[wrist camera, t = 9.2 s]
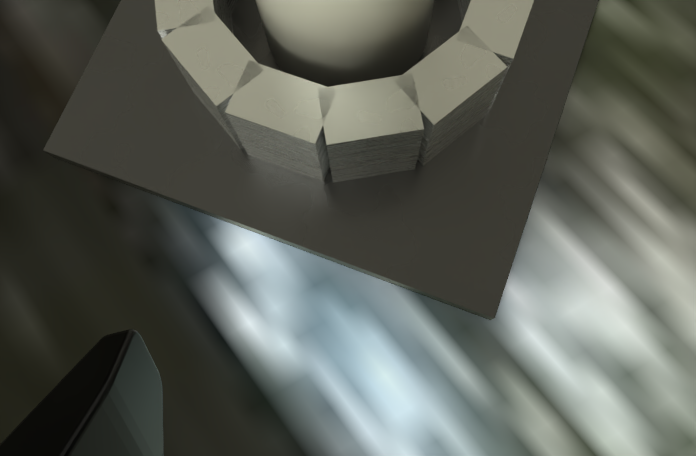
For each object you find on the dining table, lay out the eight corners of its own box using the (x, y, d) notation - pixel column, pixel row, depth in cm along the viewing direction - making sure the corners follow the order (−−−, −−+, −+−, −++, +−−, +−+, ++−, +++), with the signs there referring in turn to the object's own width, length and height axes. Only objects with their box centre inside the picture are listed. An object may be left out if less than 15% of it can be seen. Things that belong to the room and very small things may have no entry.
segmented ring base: (490, 320, 17) (521, 306, 14) (53, 157, 19) (-19, 107, 15) (621, -81, 20) (674, -176, 17) (233, -194, 22) (208, -303, 18)
